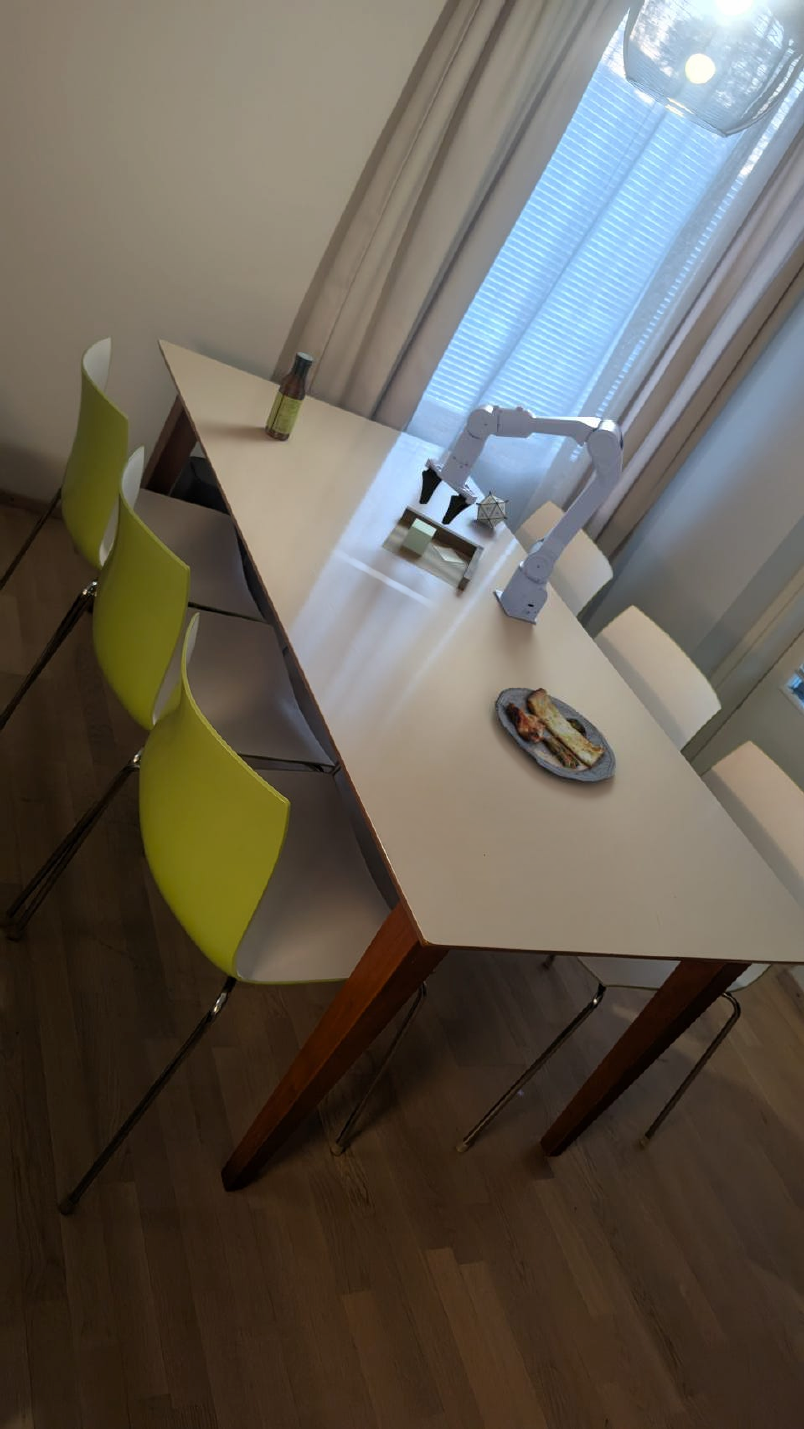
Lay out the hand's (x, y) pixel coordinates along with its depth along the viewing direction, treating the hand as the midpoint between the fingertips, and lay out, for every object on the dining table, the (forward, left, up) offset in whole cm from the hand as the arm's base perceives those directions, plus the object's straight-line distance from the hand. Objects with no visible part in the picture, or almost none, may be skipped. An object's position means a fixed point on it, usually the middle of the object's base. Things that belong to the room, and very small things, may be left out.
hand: (433, 513), depth 227 cm
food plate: (-60, -11, -10) cm, 62 cm away
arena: (-1, -3, -10) cm, 10 cm away
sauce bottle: (+39, +27, -10) cm, 48 cm away
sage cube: (-1, +1, -8) cm, 9 cm away
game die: (+25, -27, -10) cm, 38 cm away
